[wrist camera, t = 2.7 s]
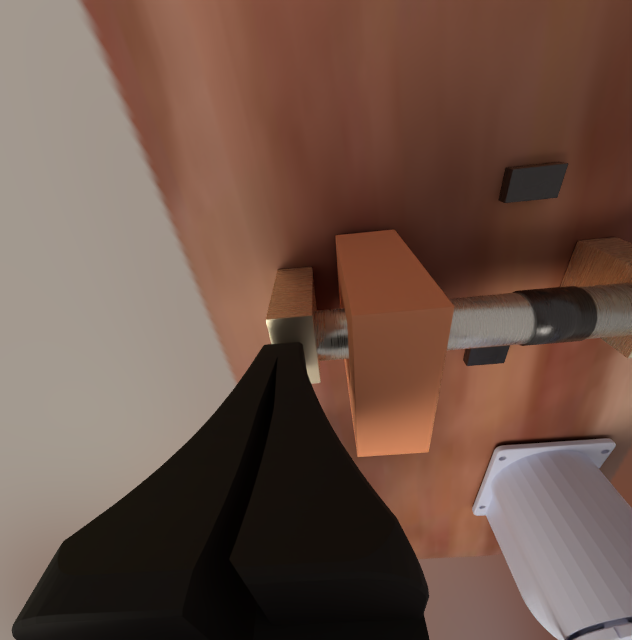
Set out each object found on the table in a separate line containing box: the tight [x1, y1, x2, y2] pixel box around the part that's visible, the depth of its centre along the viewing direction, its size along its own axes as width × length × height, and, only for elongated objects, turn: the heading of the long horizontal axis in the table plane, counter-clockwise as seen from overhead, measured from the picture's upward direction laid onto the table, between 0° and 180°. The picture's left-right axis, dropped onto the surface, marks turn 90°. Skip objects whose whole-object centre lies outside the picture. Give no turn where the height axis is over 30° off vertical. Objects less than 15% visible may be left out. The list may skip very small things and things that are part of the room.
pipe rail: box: [266, 162, 632, 383], centre depth 13 cm, size 15×10×4 cm, turn 96°
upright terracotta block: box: [335, 229, 454, 457], centre depth 12 cm, size 2×6×6 cm, turn 6°
